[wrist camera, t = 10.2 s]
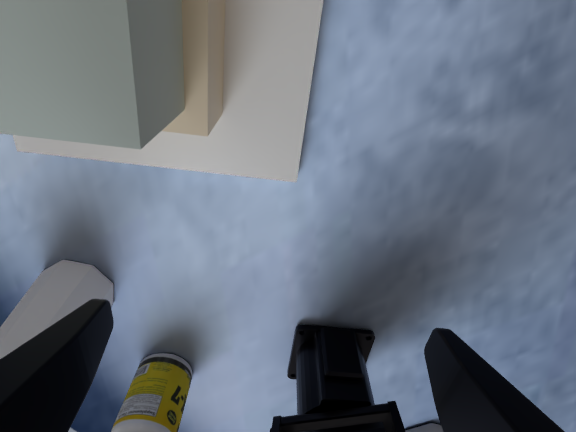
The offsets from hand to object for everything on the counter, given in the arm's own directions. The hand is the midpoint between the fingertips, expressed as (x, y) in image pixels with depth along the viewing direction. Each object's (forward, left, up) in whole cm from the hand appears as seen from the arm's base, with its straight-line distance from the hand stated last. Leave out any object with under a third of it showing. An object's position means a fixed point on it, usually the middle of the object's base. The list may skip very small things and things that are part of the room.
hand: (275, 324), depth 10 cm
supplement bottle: (-21, +8, -13) cm, 26 cm away
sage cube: (+6, +7, -8) cm, 12 cm away
